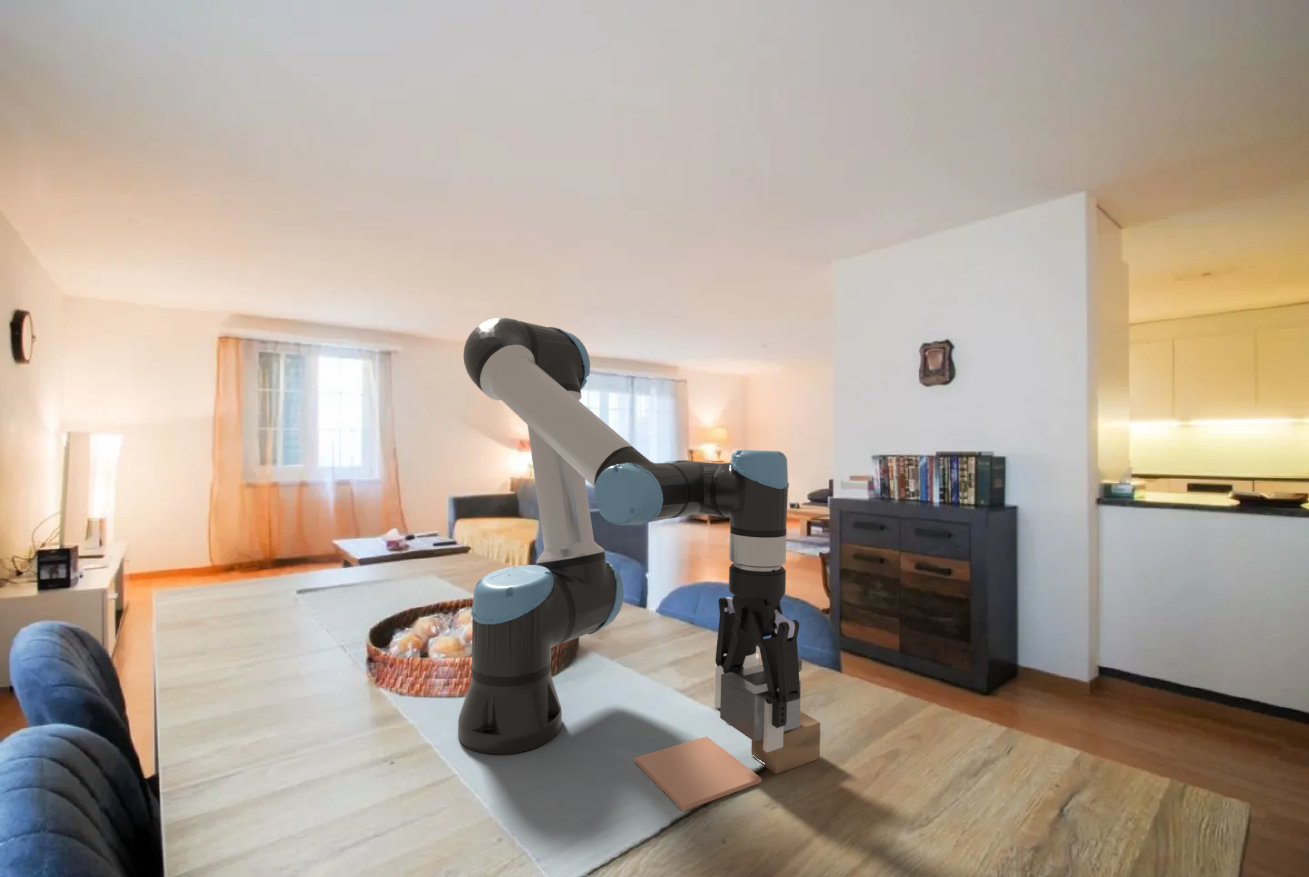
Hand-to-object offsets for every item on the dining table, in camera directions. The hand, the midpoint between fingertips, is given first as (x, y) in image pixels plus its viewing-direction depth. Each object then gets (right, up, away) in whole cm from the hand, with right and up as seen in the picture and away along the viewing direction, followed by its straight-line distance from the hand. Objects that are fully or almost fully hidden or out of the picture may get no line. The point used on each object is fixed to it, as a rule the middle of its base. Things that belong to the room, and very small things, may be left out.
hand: (753, 734), depth 79 cm
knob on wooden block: (+5, -4, +3) cm, 7 cm away
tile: (-8, -4, -1) cm, 9 cm away
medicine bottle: (+1, -5, +20) cm, 20 cm away
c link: (+1, +1, 0) cm, 2 cm away
